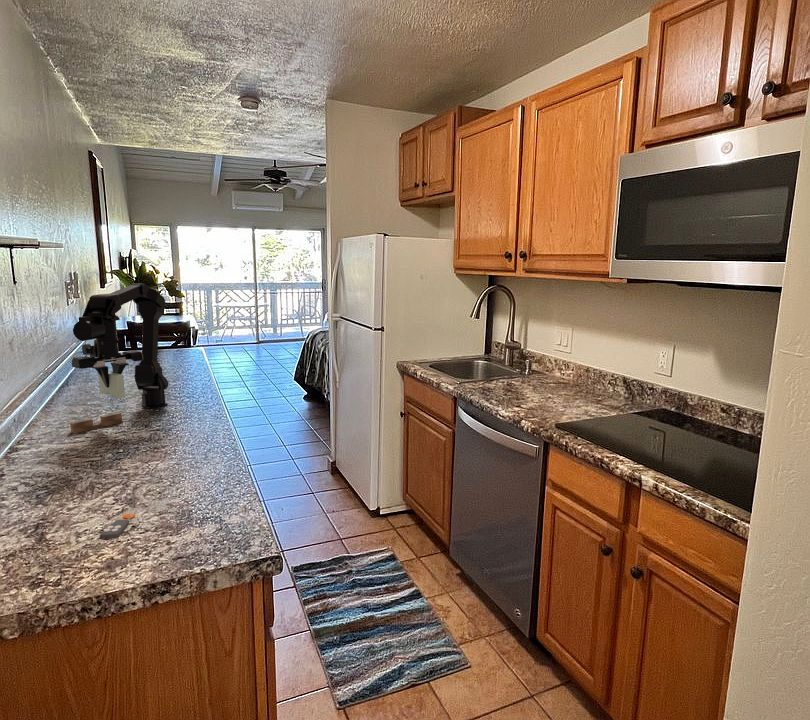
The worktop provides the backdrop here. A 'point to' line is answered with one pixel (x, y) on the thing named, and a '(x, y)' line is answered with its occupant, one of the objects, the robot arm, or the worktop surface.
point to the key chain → (117, 527)
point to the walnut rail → (88, 423)
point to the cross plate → (113, 385)
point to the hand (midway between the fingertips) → (111, 386)
